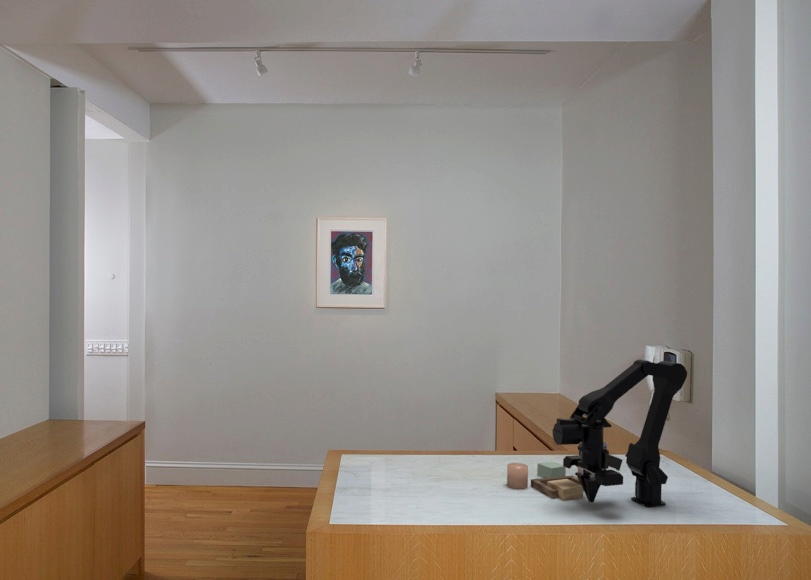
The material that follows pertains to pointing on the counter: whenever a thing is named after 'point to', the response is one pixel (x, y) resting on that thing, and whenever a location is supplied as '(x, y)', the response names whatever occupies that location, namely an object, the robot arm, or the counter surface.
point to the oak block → (566, 489)
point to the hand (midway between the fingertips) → (591, 501)
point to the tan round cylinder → (517, 476)
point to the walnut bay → (543, 488)
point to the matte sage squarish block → (550, 469)
